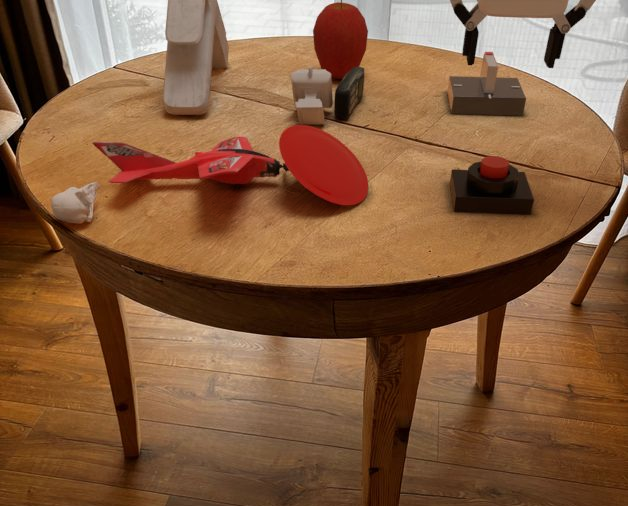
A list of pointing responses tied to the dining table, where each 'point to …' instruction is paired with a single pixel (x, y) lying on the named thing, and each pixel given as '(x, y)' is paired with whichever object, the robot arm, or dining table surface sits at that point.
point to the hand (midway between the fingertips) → (508, 63)
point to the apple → (340, 38)
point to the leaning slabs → (192, 54)
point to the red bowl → (323, 165)
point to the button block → (490, 191)
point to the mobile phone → (349, 92)
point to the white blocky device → (311, 94)
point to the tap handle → (488, 73)
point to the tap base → (485, 97)
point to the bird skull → (75, 203)
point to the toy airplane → (193, 163)
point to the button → (494, 167)
